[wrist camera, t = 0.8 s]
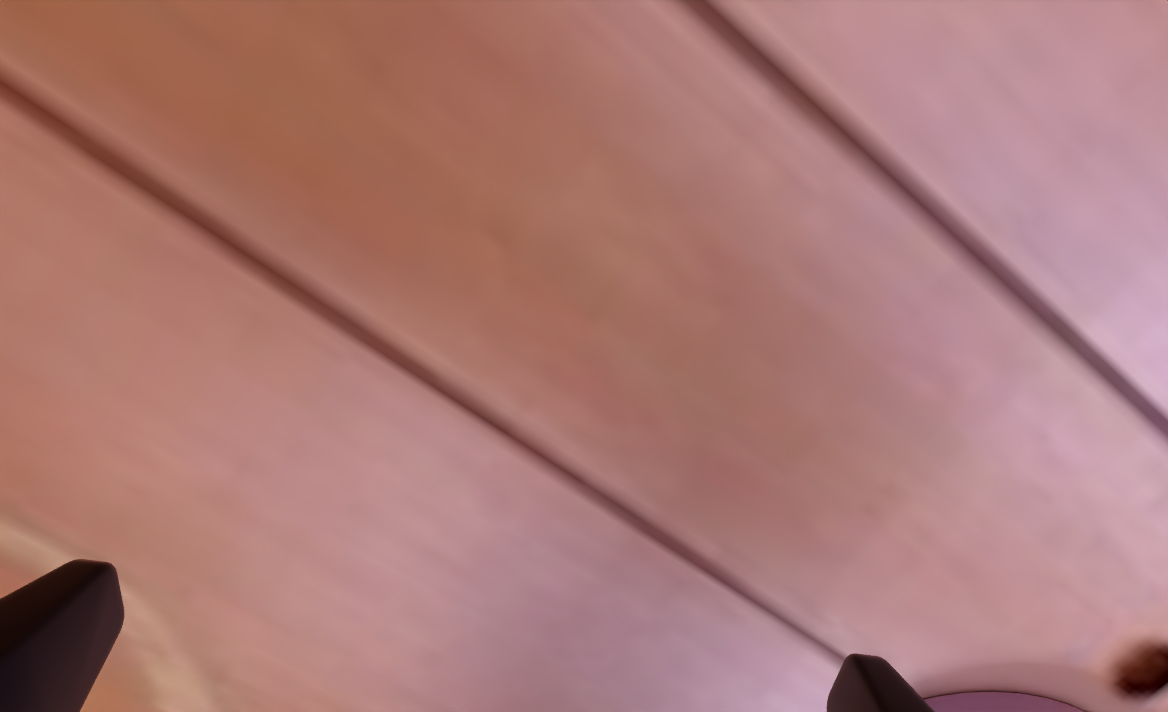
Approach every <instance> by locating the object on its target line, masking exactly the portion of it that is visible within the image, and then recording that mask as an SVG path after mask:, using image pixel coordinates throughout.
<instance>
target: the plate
mask: <svg viewBox="0 0 1168 712" xmlns="http://www.w3.org/2000/svg"><path fill="white" fill-rule="evenodd" d="M924 701H925V702H926V703H927V704H928V705H929V706H930V707H931V708H932V709H933V710H934V711H935V712H1084V711H1082V710H1080V709H1077V708H1075V707H1073V706H1071V705H1068V704H1065V703H1062V702H1058V701H1055V700H1052V699H1048V698H1045V697H1039V696H1033V695H1027V694H1022V693H1009V692H966V693H959V694H951V695H944V696H937V697H933V698H929V699H924Z"/></svg>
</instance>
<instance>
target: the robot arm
mask: <svg viewBox="0 0 1168 712" xmlns="http://www.w3.org/2000/svg"><path fill="white" fill-rule="evenodd" d="M123 621H124V606H123V601H122V596H121V591H120V586H119V581H118V575H117V571H116V568H115V567H114V566H113V565H112V564H111V563H108V562H101V561H93V560H85V559H77V560H73V561H70V562H68V563H66V564H64V565H62V566H60V567H59V568H57V569H55V570H53V571H51V572H49V573H47V574H46V575H44V576H42V577H40V578H38V579H36V580H35V581H33V582H31V583H29V584H27V585H25V586H23V587H22V588H20V589H18V590H16V591H14V592H12V593H11V594H9V595H7V596H5V597H3V598H1V599H0V712H80V710H81V708H82V706H83V704H84V702H85V700H86V698H87V696H88V694H89V692H90V690H91V688H92V686H93V684H94V682H95V680H96V678H97V676H98V674H99V672H100V670H101V668H102V667H103V665H104V663H105V661H106V659H107V657H108V655H109V653H110V651H111V649H112V647H113V645H114V643H115V641H116V639H117V637H118V635H119V633H120V631H121V628H122V625H123ZM827 712H935V711H934V710H933V709H932V708H931V707H930V706H929V705H928V704H927V703H926V702H925V701H924V700H923V699H922V697H921V696H920V695H919V694H918V693H917V692H916V691H915V690H914V689H913V688H912V687H911V686H910V685H909V684H908V683H907V682H906V681H905V680H904V679H903V678H902V676H901V675H900V674H899V673H898V672H897V671H896V670H895V669H894V668H893V667H892V666H891V665H890V664H889V663H888V662H887V661H886V660H884V659H883V658H881V657H878V656H871V655H863V654H850V655H849V656H848V657H846V659H845V661H844V663H843V665H842V667H841V669H840V671H839V673H838V676H837V678H836V680H835V682H834V684H833V687H832V689H831V691H830V693H829V696H828V700H827Z"/></svg>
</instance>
